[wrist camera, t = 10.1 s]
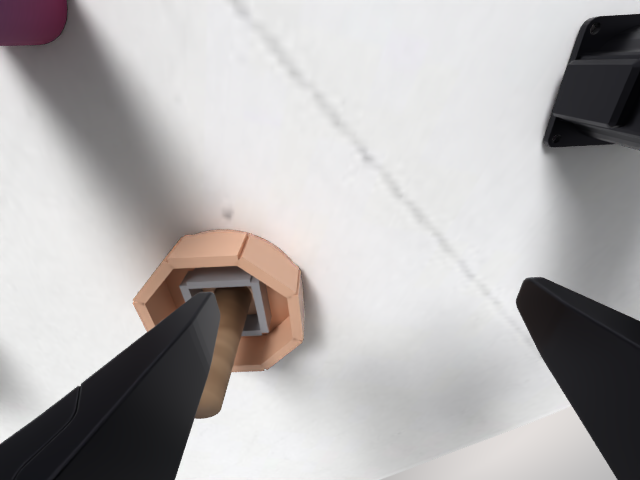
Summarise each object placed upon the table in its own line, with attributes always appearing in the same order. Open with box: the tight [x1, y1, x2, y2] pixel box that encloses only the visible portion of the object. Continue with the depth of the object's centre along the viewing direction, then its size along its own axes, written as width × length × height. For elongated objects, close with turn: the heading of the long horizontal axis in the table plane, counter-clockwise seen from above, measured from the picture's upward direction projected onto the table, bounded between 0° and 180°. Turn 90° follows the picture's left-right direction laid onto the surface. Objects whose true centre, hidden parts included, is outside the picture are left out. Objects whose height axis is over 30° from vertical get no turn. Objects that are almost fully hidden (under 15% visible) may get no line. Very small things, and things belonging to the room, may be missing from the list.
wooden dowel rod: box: [195, 286, 252, 419], centre depth 20 cm, size 3×3×9 cm
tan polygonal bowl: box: [133, 230, 305, 372], centre depth 23 cm, size 12×12×4 cm
